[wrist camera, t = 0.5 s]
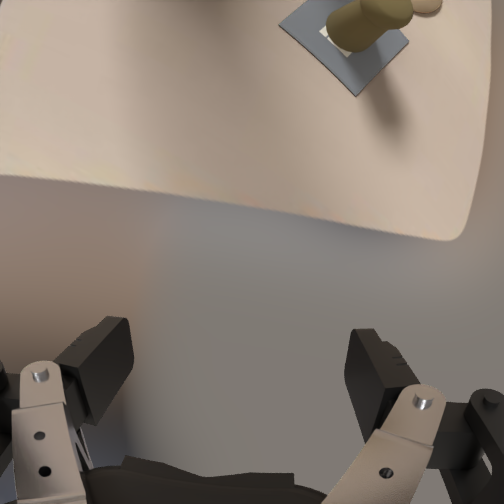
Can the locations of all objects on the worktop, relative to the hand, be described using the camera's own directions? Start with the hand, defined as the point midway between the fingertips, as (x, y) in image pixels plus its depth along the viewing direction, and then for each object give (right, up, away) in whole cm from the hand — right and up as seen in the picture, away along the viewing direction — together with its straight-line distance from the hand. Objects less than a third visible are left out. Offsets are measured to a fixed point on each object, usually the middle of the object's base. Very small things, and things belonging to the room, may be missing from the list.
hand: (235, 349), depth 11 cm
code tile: (+12, +29, +19) cm, 37 cm away
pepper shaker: (+12, +29, +19) cm, 37 cm away
